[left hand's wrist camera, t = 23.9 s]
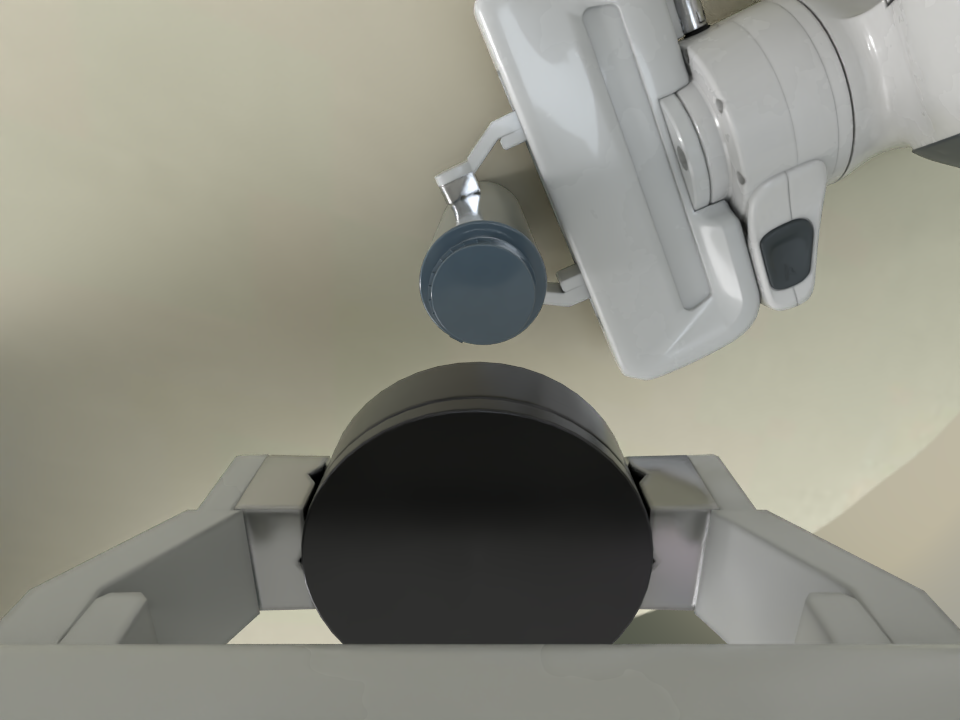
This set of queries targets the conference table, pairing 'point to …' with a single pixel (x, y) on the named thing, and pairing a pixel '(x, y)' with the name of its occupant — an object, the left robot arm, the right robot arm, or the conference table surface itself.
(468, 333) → the blue-grey cylinder
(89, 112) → the conference table surface
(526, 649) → the left robot arm
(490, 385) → the lid
